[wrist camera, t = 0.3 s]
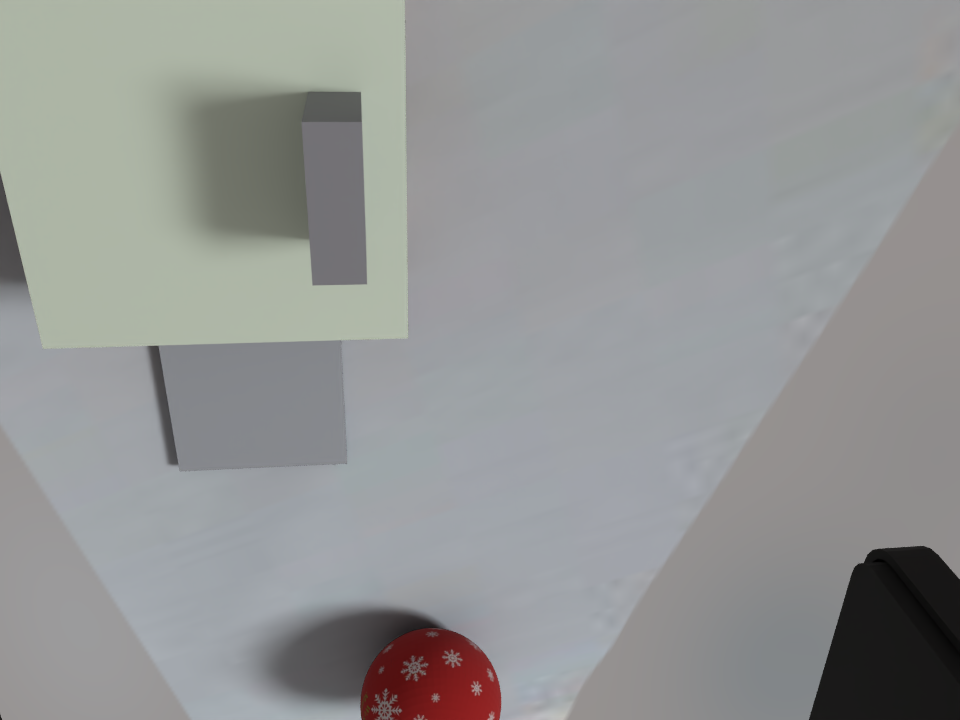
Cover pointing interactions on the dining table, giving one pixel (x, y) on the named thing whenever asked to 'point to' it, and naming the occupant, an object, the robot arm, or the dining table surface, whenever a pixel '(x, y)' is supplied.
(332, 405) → the pad
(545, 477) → the dining table surface
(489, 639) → the dining table surface
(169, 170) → the lid
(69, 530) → the dining table surface
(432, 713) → the christmas ornament
